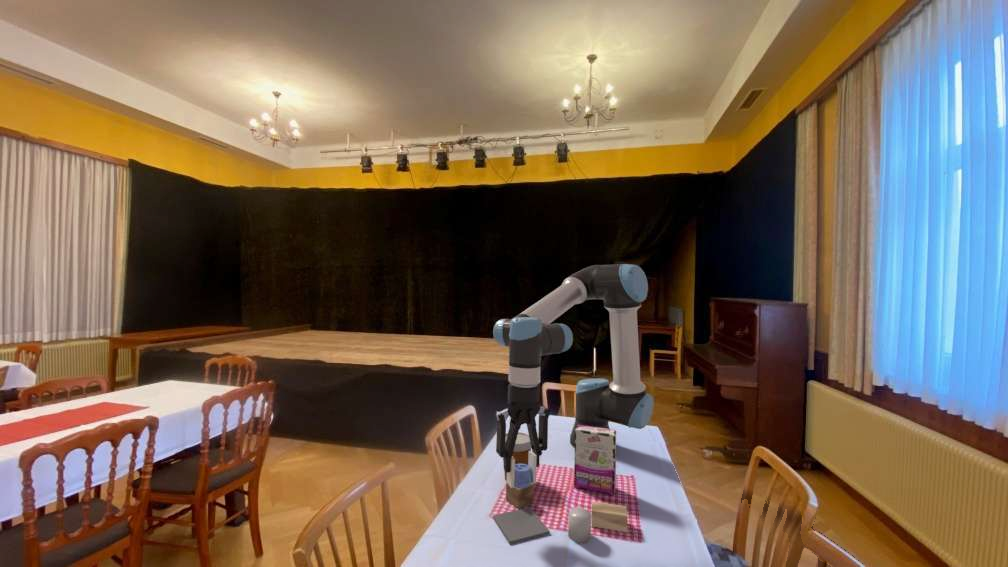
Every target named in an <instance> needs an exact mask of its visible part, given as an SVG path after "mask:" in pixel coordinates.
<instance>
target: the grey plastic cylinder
mask: <svg viewBox="0 0 1008 567" xmlns="http://www.w3.org/2000/svg"><path fill="white" fill-rule="evenodd" d="M591 513H592V512H590V511H589V510H588V509H586V508H584V507H572V508H570V509H569V511H568V523H567V524H568V526H567V527H568V530H567V535H568V538H569V539H570V540H571V541H573V542H574V543H576V544H587V543H588V542H590V541H591V538H592V537H591V536H592V520H591Z"/></svg>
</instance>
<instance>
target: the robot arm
mask: <svg viewBox="0 0 1008 567" xmlns="http://www.w3.org/2000/svg"><path fill="white" fill-rule="evenodd" d="M648 292H649V283H648V279H647V276H646V274H645V271H644V270H643V269H642V268H641V267H640V266H639V265H636V264H629V263H628V264H627V263H621V264H620V263H619V264H594V265H590V266H587V267H585V268H582V269H580V270H578V271H577V272H575V273H572V274H570V275H569V276H568V277H566V278H565V279H563V282H562V283H561V285H560V286H558V287H557V288H555V289H554V290H553V291H551V292H549V293H548V294H547V295H545V296H544V297H542V298H541V299H540V300H539V299H538V301H537V302H535V303H534V304H532V305H530V306H529V307H528V308H526V309H525V310H524V311H522V312H521V313H519V314H518V315H516V316H514V317H513V318H511V319H510V318H501V319H499V320H498V321H496V322H495V324H494V326H493V330H492V334H493V340H494V341H495V342H496V343H497V344H498V345H502V346H504V347H506V348H508V351H509V352H508V353H509V354H508V376H507V378H508V379H507V380H508V382H509V383H508V385H507V404H506V406H505V408H504V409H503V410H501V411H499V410H497V411H495V412H494V416H495V419H496V443H495V448H496V450H495V451H496V454H498V456H499V457H500V458H502V459H503V457H504V463H503V470H505V471H506V472H507V481H506V482H507V484H508V485H509V486H510V487H511V488H514V478H515V458H514V457H513V456H512V455H513V451H514V447H515V443H516V439H517V435H518V432H519V430H521V427H522V425H525V424H526V429H527V434H528V435H529V438H530V443H531V451H529V455H528V466H529V467H530V469H531V483H532V484H533V485H534V484H537V468H539V466H540V457H541V456H542V455H543V451H547V449H548V445H549V444H548V442H549V441H548V438H549V437H548V434H549V430H548V428H549V416H550V414H551V409H550V408H548V407H546V405H541V404H540V398H541V396H540V395H541V394H540V393H541V386H540V383H541V365H542V364H541V363H542V362H541V361H542V358H541V357H543V356H548V355H553V354H554V355H555V354H558V355H560V354H561V353H564V352H566V351H568V350H569V349H570V348H571V347H572V345H573V342H574V335H573V332H572V329H571V328H570V327H569V326H568V325H566V324H564V323H559V322H558V323H557V322H554V321H555V320H556V319H558V318H559V317H561V315H563V314H564V313H565V312H567V311H568V310H569V309H571V308H572V307H573V306H574V305H579V304H582V303H584V302H585V301H588V300H602V301H603V307H604V308H605V310H607V311H608V313H609V315H608V316H609V330H610V331H609V332H610V345H611V347H610V348H611V362H612V363H611V364H612V375H613V376H612V377H613V378H612V379H613V380H612V381H611V382H610V380H608V379H606V378H586V379H585V378H584V379H580V380H579V381H578V382H577V383H576V386H575V387H576V388H575V421H574V424H573V427H572V429H571V433H570V435H569V444H570V445H571V446H572V447H573V448H575V429H576V428H577V425H584V426H591V427H599V428H606V429H611V428H610V425H609V422H612V423H614V424H619V425H623V426H625V427H628V428H633V429H637V430H641V429H644V428H645V427H646V426H647V425H648V424H649V422H650V420H651V417H652V416H653V415H652V414H653V411H654V407H655V406H654V403H655V401H654V397H653V395H651V394H650V393H647V387H646V384H645V383H643V381H641V366H640V365H641V364H640V351H639V350H640V348H639V347H640V346H639V345H640V344H639V328H638V310H639V309H640V308H642V302H644V301H646V299H647V297H648ZM553 322H554V323H553ZM537 415H538V430H537V422H536V417H537ZM508 416H509V418H510V419H509V428H508V432H507V420H508ZM506 433H508V435H507V439H506ZM505 441H506V443H505Z"/></svg>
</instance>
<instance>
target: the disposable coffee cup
mask: <svg viewBox="0 0 1008 567" xmlns="http://www.w3.org/2000/svg"><path fill="white" fill-rule="evenodd" d="M507 435H508V432H506V439H507ZM505 443H506V441H505ZM529 451H532V448H531V443H530V438H529V433H525V432H519V431H518V435H517V439H516V443H515V447H514V451H513V455H512V456H513V457H514V458H515V465H516V464H520V463H521V464H526V465H528V455H529ZM502 460H503V463H502V464H504V457H503V458H502ZM503 470H504V469H503ZM503 472H504V480H505V482H507V472H506V471H505V470H504V471H503Z"/></svg>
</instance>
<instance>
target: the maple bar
mask: <svg viewBox="0 0 1008 567" xmlns="http://www.w3.org/2000/svg"><path fill="white" fill-rule="evenodd" d="M627 511H628V510H627V506H626V505H619V504H613V503H605V502H599V501H591V512H590V513H591V519H592V520H591V528H595V527H599V528H598V529H601V528H605V529H604V530H608V529H611V530H610V531H614V530H617V531H616V532H621V531H623V532H622V533H628V523H629V522H628V519H629V518H628V512H627Z"/></svg>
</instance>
